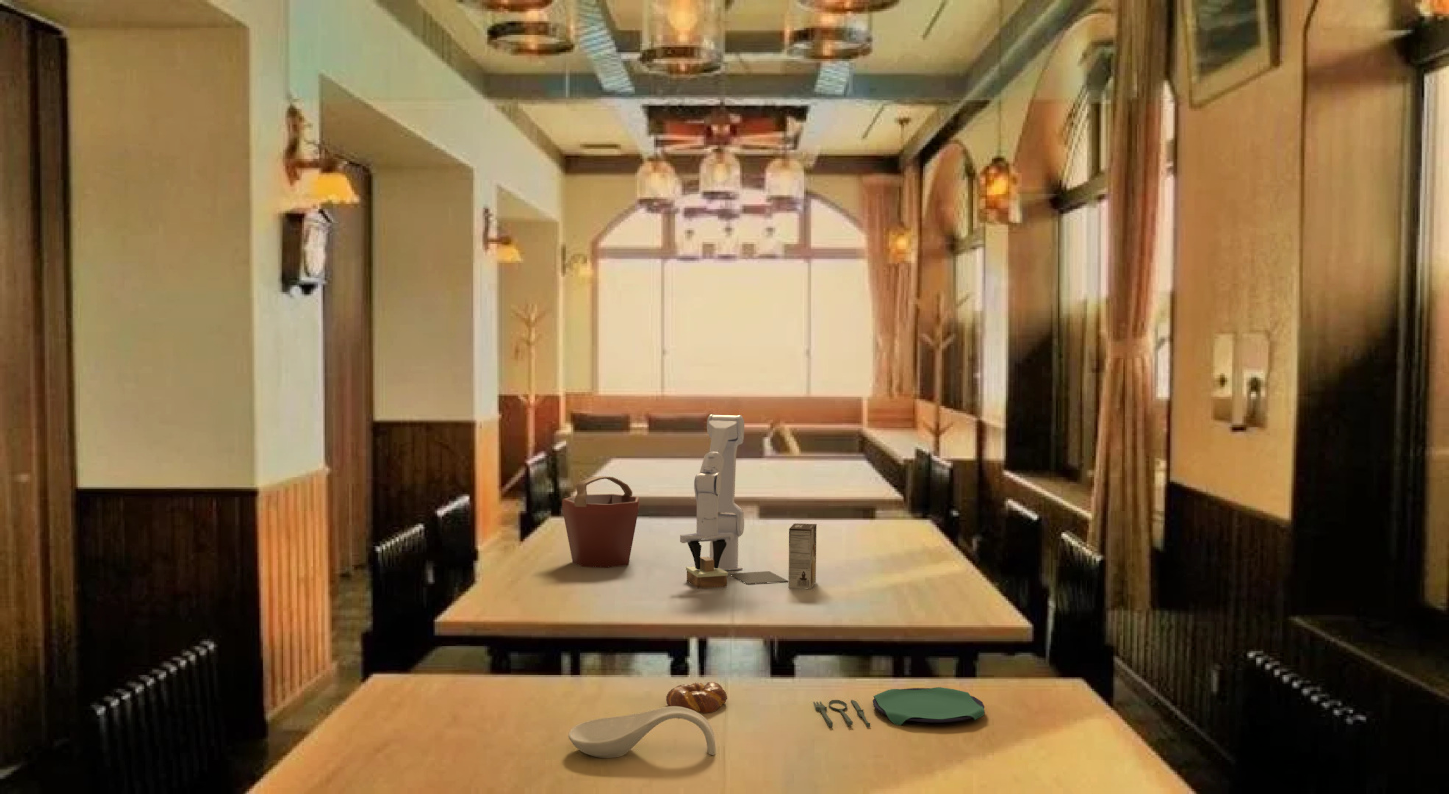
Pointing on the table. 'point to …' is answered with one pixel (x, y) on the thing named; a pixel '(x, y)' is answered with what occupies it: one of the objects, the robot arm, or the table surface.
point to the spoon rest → (631, 731)
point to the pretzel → (697, 697)
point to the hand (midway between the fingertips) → (706, 568)
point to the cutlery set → (916, 706)
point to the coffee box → (802, 555)
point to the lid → (706, 569)
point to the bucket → (600, 525)
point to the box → (707, 581)
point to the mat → (758, 577)
